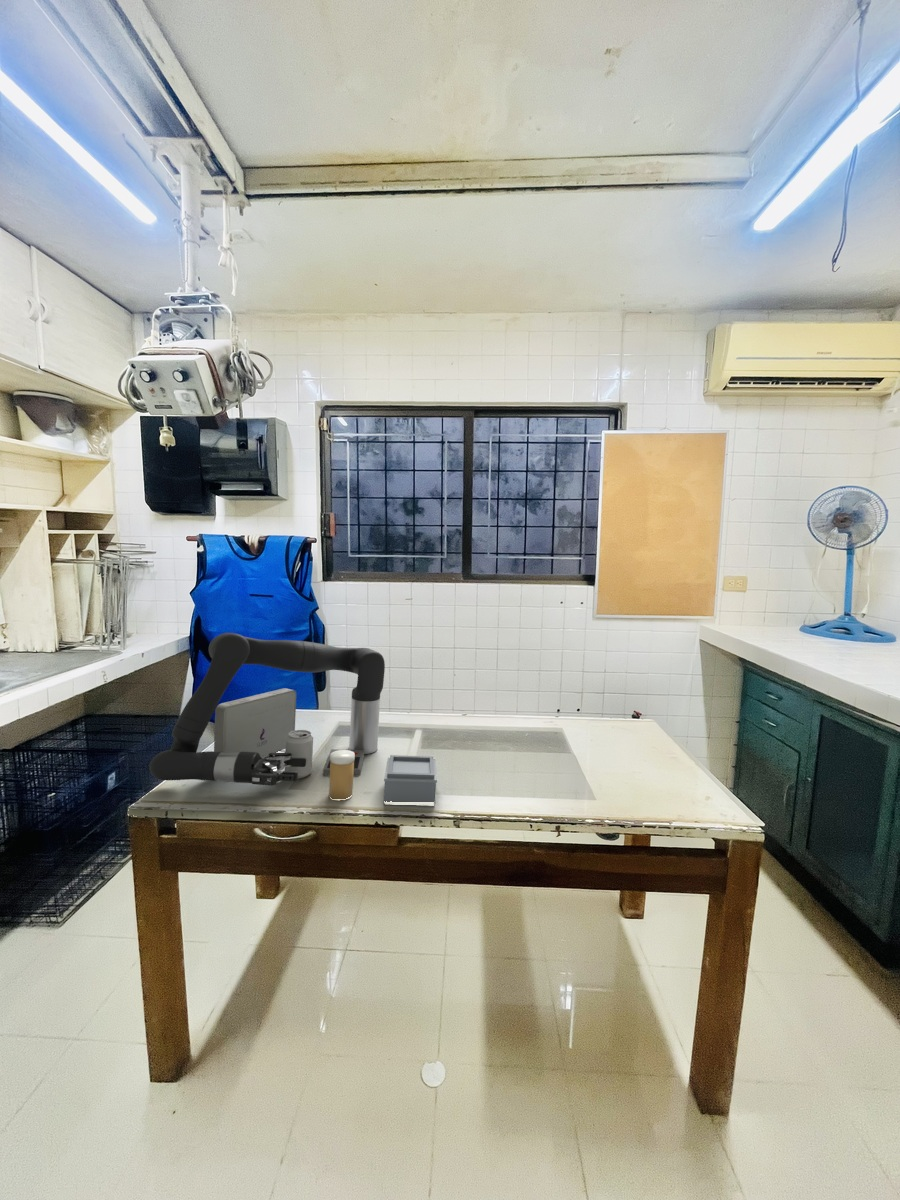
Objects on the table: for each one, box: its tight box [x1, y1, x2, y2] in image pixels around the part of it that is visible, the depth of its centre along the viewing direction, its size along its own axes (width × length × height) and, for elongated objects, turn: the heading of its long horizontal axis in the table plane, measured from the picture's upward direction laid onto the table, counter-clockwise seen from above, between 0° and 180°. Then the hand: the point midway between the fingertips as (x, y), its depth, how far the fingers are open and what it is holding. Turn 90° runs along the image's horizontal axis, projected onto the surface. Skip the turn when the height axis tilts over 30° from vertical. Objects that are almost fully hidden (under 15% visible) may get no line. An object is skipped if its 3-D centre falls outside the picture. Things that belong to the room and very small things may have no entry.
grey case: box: [383, 754, 438, 802], centre depth 124 cm, size 13×13×8 cm
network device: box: [213, 687, 297, 759], centre depth 138 cm, size 26×9×20 cm, turn 152°
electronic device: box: [322, 748, 365, 777], centre depth 141 cm, size 10×2×15 cm
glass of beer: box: [328, 749, 355, 799], centre depth 121 cm, size 6×6×11 cm
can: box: [283, 729, 314, 779], centre depth 132 cm, size 8×8×12 cm
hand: (301, 769), depth 120 cm, fingers open, 8 cm apart
